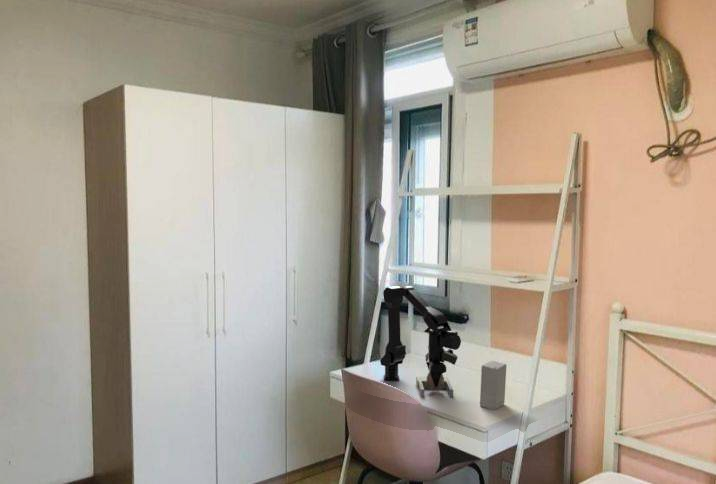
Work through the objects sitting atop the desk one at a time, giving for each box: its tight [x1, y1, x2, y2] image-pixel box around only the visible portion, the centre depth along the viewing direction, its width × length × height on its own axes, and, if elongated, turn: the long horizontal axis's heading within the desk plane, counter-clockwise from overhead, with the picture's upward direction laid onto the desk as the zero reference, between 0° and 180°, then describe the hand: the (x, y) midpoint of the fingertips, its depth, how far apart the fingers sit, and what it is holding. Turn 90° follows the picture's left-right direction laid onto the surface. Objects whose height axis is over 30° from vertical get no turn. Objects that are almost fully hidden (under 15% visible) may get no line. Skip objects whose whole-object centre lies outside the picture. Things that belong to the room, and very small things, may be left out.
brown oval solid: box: [426, 372, 445, 392], centre depth 226 cm, size 7×7×9 cm
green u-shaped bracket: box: [415, 376, 454, 398], centre depth 229 cm, size 17×13×3 cm
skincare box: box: [479, 360, 507, 411], centre depth 211 cm, size 8×7×16 cm
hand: (435, 383), depth 226 cm, fingers closed on brown oval solid, 7 cm apart
